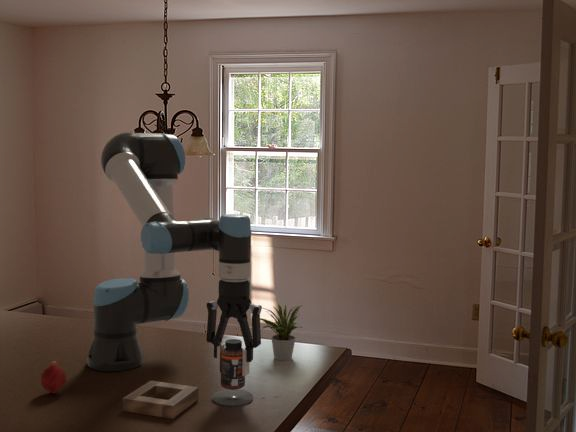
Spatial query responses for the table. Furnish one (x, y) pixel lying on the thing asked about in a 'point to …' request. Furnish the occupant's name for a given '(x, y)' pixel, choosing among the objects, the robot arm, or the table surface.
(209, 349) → the table surface
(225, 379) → the supplement bottle
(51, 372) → the onion
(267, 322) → the house plant
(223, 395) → the grey domed disc
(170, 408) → the pocket holder
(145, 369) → the table surface
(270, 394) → the table surface
